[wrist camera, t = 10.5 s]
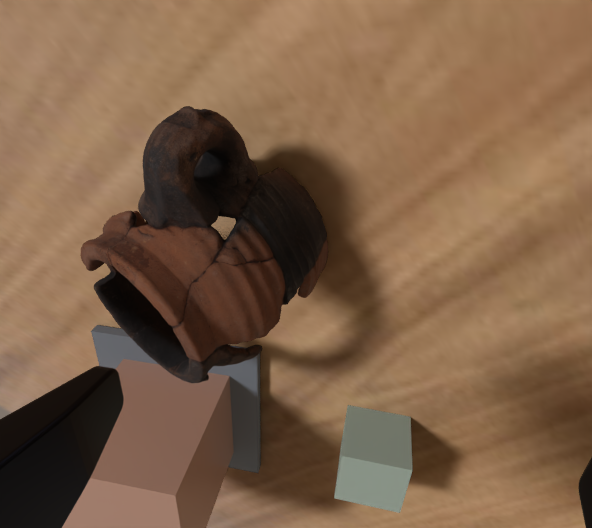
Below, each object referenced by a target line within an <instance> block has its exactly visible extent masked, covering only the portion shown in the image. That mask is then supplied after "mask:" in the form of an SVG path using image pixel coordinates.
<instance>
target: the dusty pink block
mask: <svg viewBox="0 0 592 528" xmlns="http://www.w3.org/2000/svg"><path fill="white" fill-rule="evenodd" d="M116 370H117V371H118V373H119V377H120V382H121V387H122V391H123V396H124V402H123V407H122V410H121V412H120V414H119V417H118V419H117V421H116V423H115V425H114V428H113V430H112V432H111V434H110V436H109V439H108V441H107V443H106V445H105V447H104V450H103V452H102V454H101V456H100V458H99V461H98V463H97V465H96V467H95V469H94V471H93V473H92V475H91V477H90V480H89V481H88V483H87V485H86V487H85V489H84V490H83V492H82V494H81V496H80V497H79V499H78V501H77V503H76V504H75V506H74V508H73V509H72V511H71V513H70V515H69V516H68V518H67V520H66V522H65V523H64V525H63V527H62V528H206V526H207V524H208V521H209V518H210V515H211V513H212V510H213V507H214V504H215V502H216V499H217V496H218V493H219V491H220V488H221V485H222V482H223V480H224V477H225V474H226V472H227V469H228V466H229V463H230V461H231V458H232V455H233V452H234V450H233V431H232V413H231V395H230V377H229V376H227V375H221V374H214V373H208V376H209V379H208V380H207V381H203V382H200V383H189V382H186V381H183V380H181V379H179V378H177V377H176V376H174V375H172V374H171V373H169V372H168V371H167V370H165V369H164V368H163V367H162V366H160V365H159V364H152V363H146V362H140V361H134V360H128V359H123V360H122V361H121V363H120V364H119V365H118V367H117V368H116Z"/></svg>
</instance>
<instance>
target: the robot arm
mask: <svg viewBox="0 0 592 528" xmlns="http://www.w3.org/2000/svg"><path fill="white" fill-rule="evenodd" d="M123 402H124V396H123V391H122V387H121V382H120V377H119V373H118V371H117V370H116V369H114V368H109V367H103V366H96V367H93V368H91V369H90V370H88V371H86V372H84V373H82V374H81V375H79V376H77V377H75V378H73V379H72V380H70V381H68V382H66V383H65V384H63V385H61V386H59V387H57V388H56V389H54V390H52V391H50V392H48V393H47V394H45V395H43V396H41V397H39V398H38V399H36V400H34V401H32V402H30V403H29V404H27V405H25V406H23V407H22V408H20V409H18V410H16V411H14V412H13V413H11V414H9V415H7V416H5V417H4V418H2V419H0V528H62V527H63V525H64V523H65V522H66V520H67V518H68V516H69V515H70V513H71V511H72V509H73V508H74V506H75V504H76V503H77V501H78V499H79V497H80V496H81V494H82V492H83V490H84V489H85V487H86V485H87V483H88V481H89V480H90V477H91V475H92V473H93V471H94V469H95V467H96V465H97V463H98V461H99V458H100V456H101V454H102V452H103V450H104V447H105V445H106V443H107V441H108V439H109V436H110V434H111V432H112V430H113V428H114V425H115V423H116V421H117V419H118V417H119V414H120V412H121V410H122V407H123ZM579 495H580V500H581V505H582V510H583V515H584V520H585V525H586V528H592V458H591V460H590V461H589V463H588V465H587V467H586V469H585V471H584V472H583V474H582V476H581V478H580V481H579Z"/></svg>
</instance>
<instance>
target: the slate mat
mask: <svg viewBox="0 0 592 528" xmlns="http://www.w3.org/2000/svg"><path fill="white" fill-rule="evenodd" d="M91 332H92V336H93V340H94V345H95V349H96V353H97V357H98V361H99V366H103V367H109V368H114V369H116V368H117V367H118V365H119V364H120V363H121V361H122V360H123V359H128V360H134V361H140V362H146V363H152V364H158V363H157V362H156V361H154V360H153V359H152V358H150V357H149V355H147V354H146V353H145V352H144V351H143V350H142V349H141V348H140V347H139V346H138V345H137V344H136V343H135V342H134V341H133V340H132V339H131V338H130V337H129V336H128V335H127V334H126V333H125V331H124V330H123V329H120V328H113V327H107V326H100V325H97V326H96V327H95V328H94V329H93V330H92V331H91ZM232 347H236V346H232ZM236 348H243V347H236ZM208 373H214V374H221V375H227V376H229V377H230V395H231V413H232V431H233V450H234V452H233V455H232V458H231V461H230V463H229V466H228V467H230V468H235V469H240V470H245V471H250V472H255V473H258V472H259V469H260V465H261V462H260V353H259V354H258V355H257V356H256V357H254V358H252V359H250V360H245V361H243V362H241V363H238V364H233V365H226V366H213V367H212V368H211V369H210V370H209V371H208Z"/></svg>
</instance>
